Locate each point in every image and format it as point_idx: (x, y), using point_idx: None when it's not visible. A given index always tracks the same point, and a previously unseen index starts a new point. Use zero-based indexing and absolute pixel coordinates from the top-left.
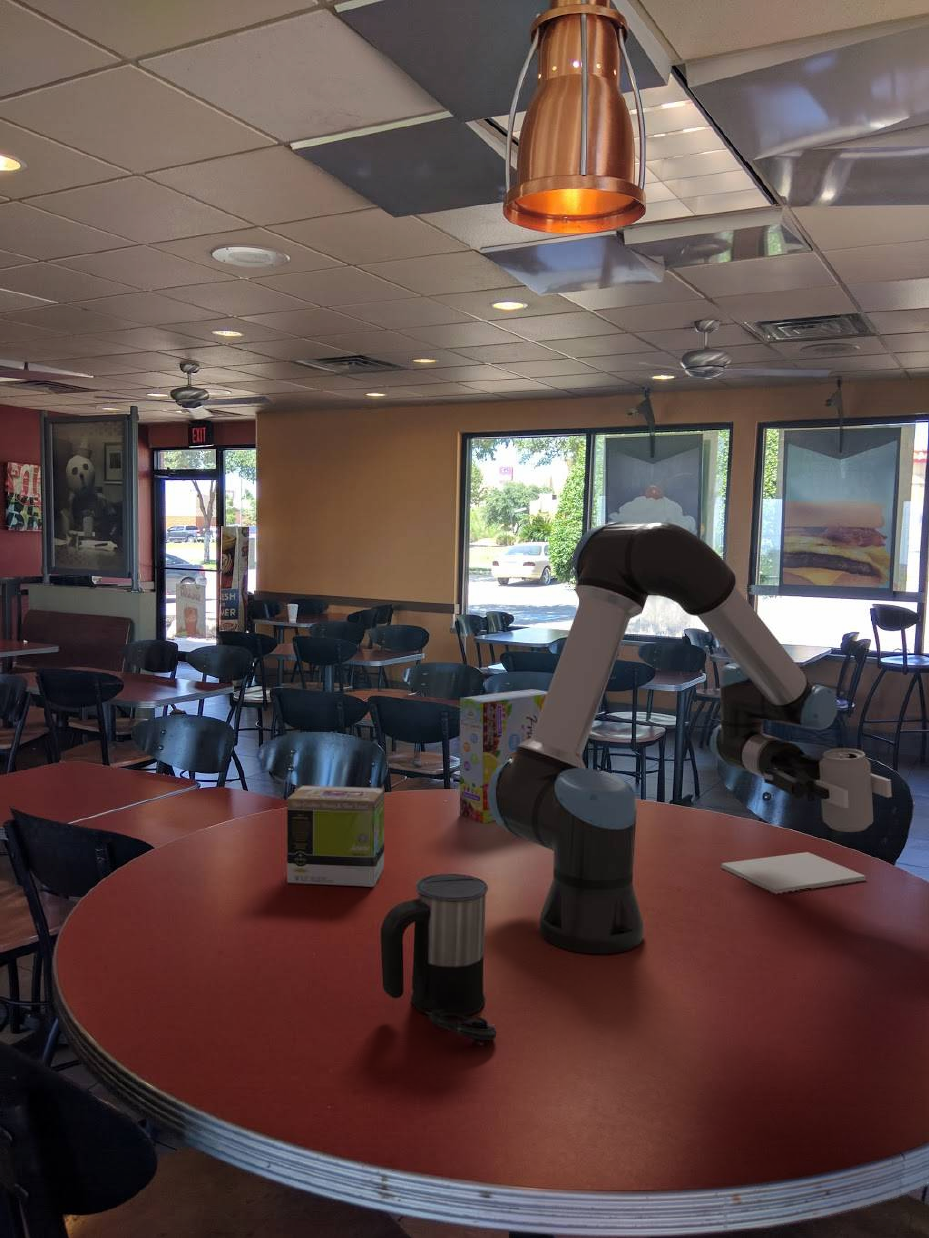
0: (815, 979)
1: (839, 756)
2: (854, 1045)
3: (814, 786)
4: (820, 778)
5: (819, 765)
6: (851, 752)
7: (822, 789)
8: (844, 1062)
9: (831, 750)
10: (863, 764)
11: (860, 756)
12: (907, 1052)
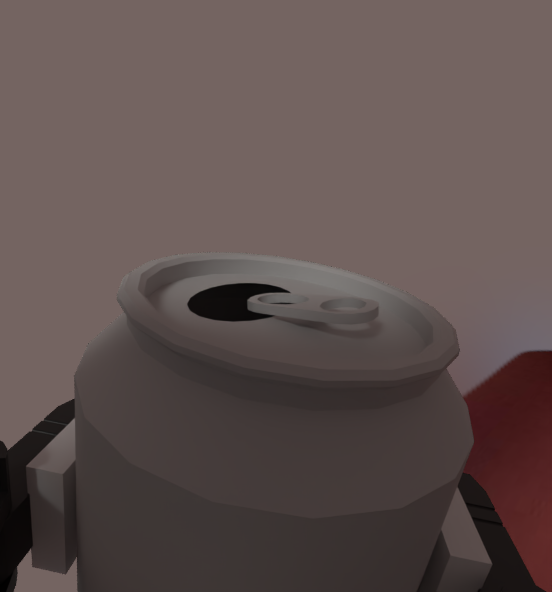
0: (536, 516)
1: (309, 327)
2: (529, 411)
3: (505, 561)
4: (420, 577)
5: (448, 497)
6: (156, 309)
7: (468, 490)
8: (549, 400)
9: (288, 356)
10: (261, 291)
11: (263, 256)
12: (478, 395)
